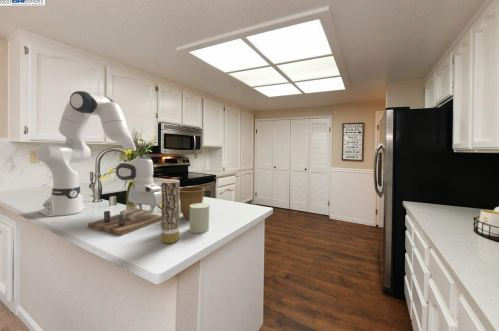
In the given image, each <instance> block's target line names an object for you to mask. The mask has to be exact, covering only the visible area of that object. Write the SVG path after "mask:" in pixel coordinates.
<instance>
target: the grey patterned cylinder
mask: <svg viewBox="0 0 499 331" xmlns="http://www.w3.org/2000/svg"><path fill="white" fill-rule="evenodd" d="M179 188H180V179H173V178H171V179H169V178H167V179H162V180H161V215H160V216H161V231H160V232H161V242H162V243H164V244H174V243H177V242H179V240H180V217H179Z"/></svg>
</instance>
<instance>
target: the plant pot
mask: <svg viewBox="0 0 499 331" xmlns="http://www.w3.org/2000/svg"><path fill="white" fill-rule="evenodd" d="M204 195H205V187H201V186H186V187H185V186H184V187H179V198H180V205H181V211H180V212H181V214H182V216H183V218H184V219H186V220H190V205H191V204H196V203H203V200H204Z"/></svg>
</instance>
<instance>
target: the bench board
mask: <svg viewBox="0 0 499 331" xmlns="http://www.w3.org/2000/svg"><path fill="white" fill-rule="evenodd" d="M161 216H162V215H159V214H154V213H152V214H151V217H148V218H145V219H142V220H139V221H135V220H130V219H126V218H125V214H120V213H119V214H115V215H113V216H111V211H110V210H106V211H103V218H102V219H98V220H95V221H90V222H88V223H87V228H89V229H93V230H98V231H101V232H104V233H110V234H113V235H117V236H121V237H122V236H124V235H126V234H130V233H132V232H136V231H137V230H140V229H143V228H145V227H148V226H150V225H153V224H155V223H158V222H160V221H161Z"/></svg>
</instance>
